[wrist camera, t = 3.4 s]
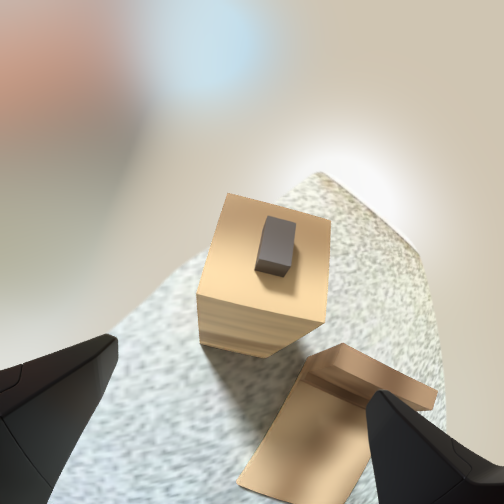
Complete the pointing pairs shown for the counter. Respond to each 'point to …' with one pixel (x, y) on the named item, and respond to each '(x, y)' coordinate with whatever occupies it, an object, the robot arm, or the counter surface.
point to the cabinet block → (263, 278)
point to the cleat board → (326, 428)
